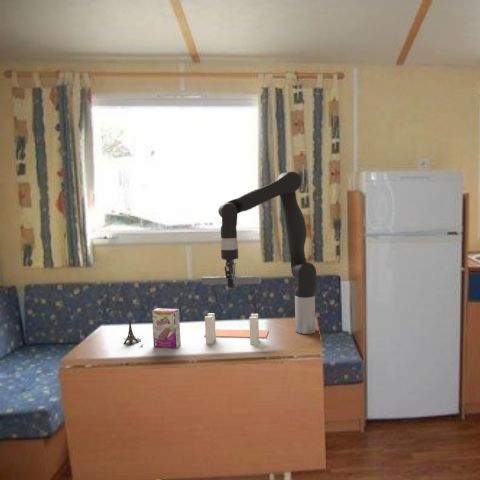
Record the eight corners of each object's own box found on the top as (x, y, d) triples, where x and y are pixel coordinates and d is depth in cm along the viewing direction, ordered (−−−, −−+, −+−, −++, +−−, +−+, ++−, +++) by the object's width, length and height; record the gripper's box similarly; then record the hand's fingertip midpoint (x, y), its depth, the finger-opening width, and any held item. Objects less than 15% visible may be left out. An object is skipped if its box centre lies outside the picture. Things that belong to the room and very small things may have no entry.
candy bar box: (153, 347, 180) (151, 310, 178) (158, 343, 184) (156, 307, 183) (176, 348, 176) (174, 311, 175) (181, 344, 181) (179, 308, 180)
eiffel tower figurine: (142, 349, 179) (140, 319, 178) (118, 351, 178) (116, 321, 176) (144, 338, 194) (142, 310, 193) (122, 340, 192) (120, 312, 191)
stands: (259, 339, 184) (258, 313, 183) (257, 344, 178) (256, 317, 177) (209, 338, 188) (208, 313, 187) (205, 343, 182) (204, 317, 181)
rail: (260, 282, 181) (260, 275, 180) (259, 283, 178) (259, 277, 177) (203, 283, 185) (203, 276, 185) (201, 284, 182) (201, 277, 182)
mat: (268, 331, 195) (268, 330, 195) (266, 338, 186) (266, 337, 186) (209, 330, 201) (209, 329, 201) (204, 336, 191) (204, 335, 191)
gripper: (235, 249, 172) (236, 290, 174) (240, 246, 186) (242, 283, 188) (217, 250, 174) (219, 290, 175) (224, 246, 187) (226, 283, 189)
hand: (231, 286), depth 182 cm, fingers closed on rail, 3 cm apart
